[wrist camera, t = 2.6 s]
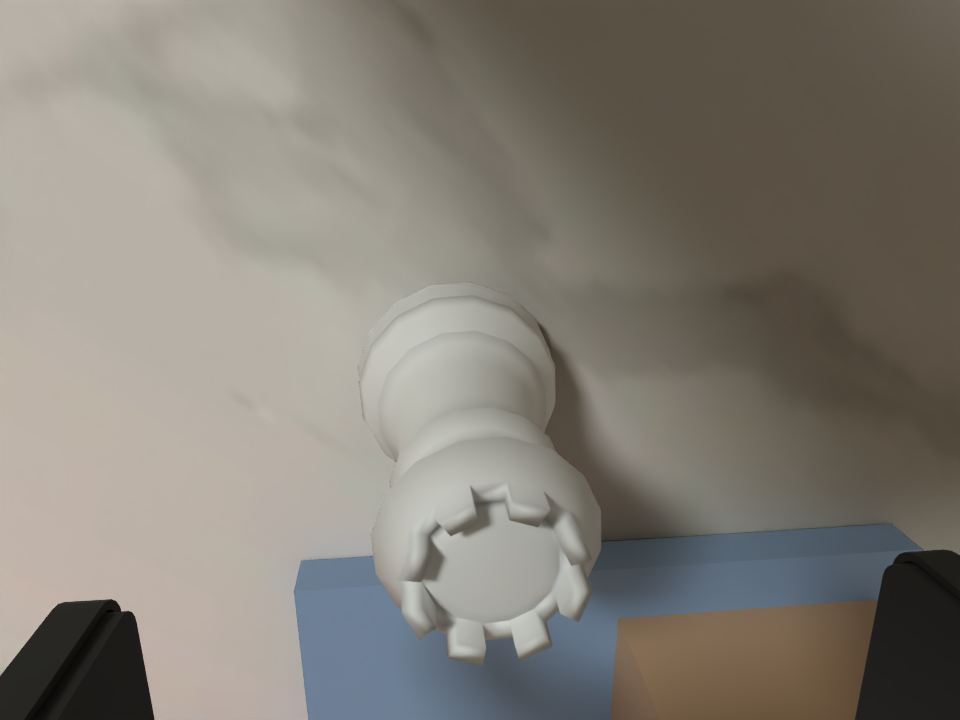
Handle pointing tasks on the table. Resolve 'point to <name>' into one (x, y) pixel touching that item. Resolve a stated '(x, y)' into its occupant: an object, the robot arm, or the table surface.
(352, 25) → the table surface
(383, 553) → the rook chess piece
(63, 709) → the robot arm
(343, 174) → the table surface
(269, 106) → the table surface
